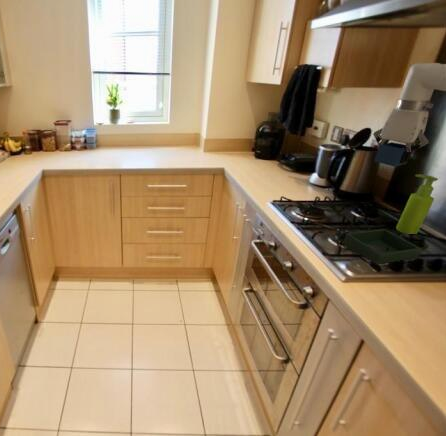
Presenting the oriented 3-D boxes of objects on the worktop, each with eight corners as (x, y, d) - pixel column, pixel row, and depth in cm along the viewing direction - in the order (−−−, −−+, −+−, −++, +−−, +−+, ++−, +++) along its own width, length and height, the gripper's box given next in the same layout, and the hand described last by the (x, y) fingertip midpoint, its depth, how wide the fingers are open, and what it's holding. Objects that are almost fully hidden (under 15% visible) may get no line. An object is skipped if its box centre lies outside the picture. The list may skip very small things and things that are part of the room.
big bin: (379, 240, 106) (384, 228, 104) (416, 261, 95) (422, 249, 93) (341, 245, 104) (346, 233, 102) (375, 267, 93) (380, 255, 91)
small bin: (385, 158, 113) (391, 142, 111) (406, 163, 108) (413, 146, 105) (373, 161, 111) (379, 144, 108) (395, 166, 106) (401, 149, 103)
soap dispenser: (399, 223, 115) (422, 172, 106) (421, 232, 110) (448, 178, 100) (388, 227, 113) (411, 174, 104) (410, 236, 108) (437, 181, 98)
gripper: (452, 108, 95) (427, 164, 103) (388, 101, 109) (371, 152, 118) (438, 110, 92) (414, 168, 101) (375, 103, 107) (358, 155, 115)
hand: (391, 159), depth 109 cm, fingers closed on small bin, 6 cm apart
